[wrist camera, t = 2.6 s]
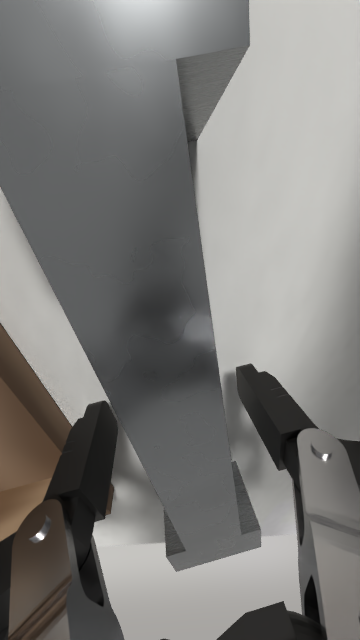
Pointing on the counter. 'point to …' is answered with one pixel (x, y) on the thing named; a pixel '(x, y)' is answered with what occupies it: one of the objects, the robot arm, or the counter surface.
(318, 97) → the counter surface
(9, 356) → the rack
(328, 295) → the counter surface
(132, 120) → the grey flared end bar
